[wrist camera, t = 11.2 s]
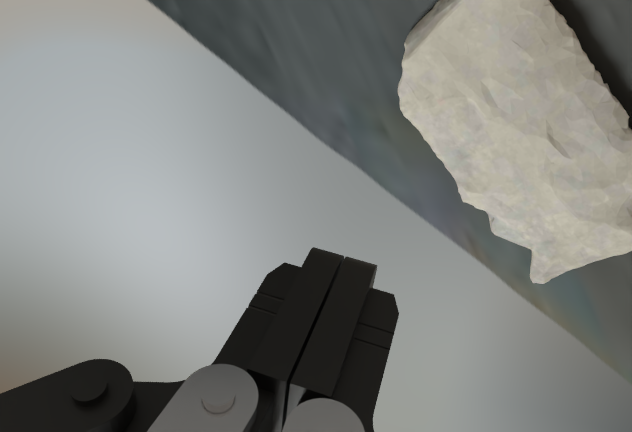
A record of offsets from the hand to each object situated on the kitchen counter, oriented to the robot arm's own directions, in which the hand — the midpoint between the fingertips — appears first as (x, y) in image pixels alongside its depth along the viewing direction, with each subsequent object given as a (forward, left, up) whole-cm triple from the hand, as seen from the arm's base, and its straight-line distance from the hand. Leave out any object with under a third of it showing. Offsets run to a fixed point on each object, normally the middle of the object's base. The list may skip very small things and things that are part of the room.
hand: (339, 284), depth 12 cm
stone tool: (-8, +8, -31) cm, 33 cm away
